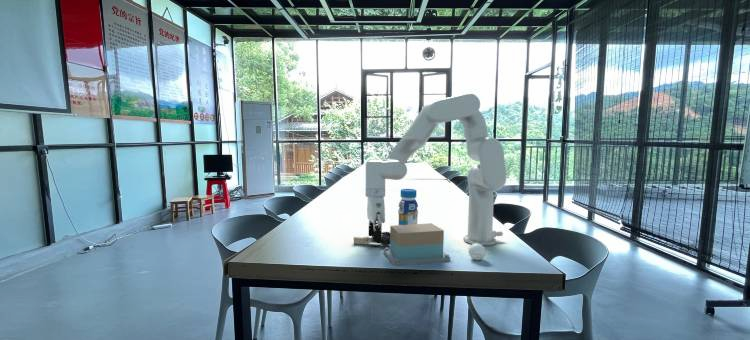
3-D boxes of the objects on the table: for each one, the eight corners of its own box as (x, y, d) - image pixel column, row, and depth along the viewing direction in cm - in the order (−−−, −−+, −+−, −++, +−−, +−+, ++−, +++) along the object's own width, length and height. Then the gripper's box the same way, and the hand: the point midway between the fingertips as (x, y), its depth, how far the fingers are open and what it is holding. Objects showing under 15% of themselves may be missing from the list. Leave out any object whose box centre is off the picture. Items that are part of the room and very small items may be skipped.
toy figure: (353, 248, 122) (392, 247, 122) (352, 232, 122) (391, 230, 122) (354, 245, 129) (391, 243, 129) (353, 229, 129) (391, 227, 129)
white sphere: (465, 259, 111) (466, 244, 110) (472, 255, 115) (472, 240, 115) (487, 265, 106) (488, 248, 106) (493, 260, 110) (494, 244, 110)
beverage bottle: (398, 232, 144) (399, 188, 142) (417, 233, 143) (418, 188, 141) (397, 238, 135) (397, 190, 134) (417, 239, 134) (418, 191, 132)
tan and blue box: (434, 248, 123) (434, 222, 122) (450, 260, 110) (451, 231, 109) (383, 252, 118) (383, 225, 117) (394, 265, 105) (394, 235, 104)
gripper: (391, 195, 116) (390, 244, 117) (378, 188, 133) (378, 231, 134) (371, 196, 114) (370, 246, 116) (361, 189, 131) (360, 232, 132)
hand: (374, 237), depth 125 cm, fingers closed on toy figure, 6 cm apart
